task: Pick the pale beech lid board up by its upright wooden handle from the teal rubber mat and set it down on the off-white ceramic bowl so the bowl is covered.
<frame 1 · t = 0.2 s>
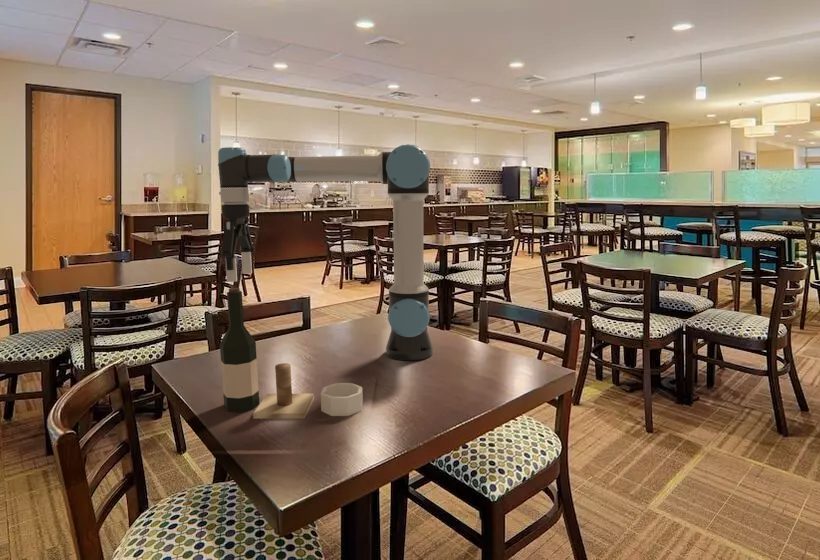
hand: (240, 277, 156), 28 cm above the table, fingers open, 13 cm apart
mat: (285, 410, 131), on the table
beech lid: (285, 407, 131), point 1 cm above the table, touching mat
wine bottle: (242, 408, 133), on the table
bowl: (342, 409, 131), on the table
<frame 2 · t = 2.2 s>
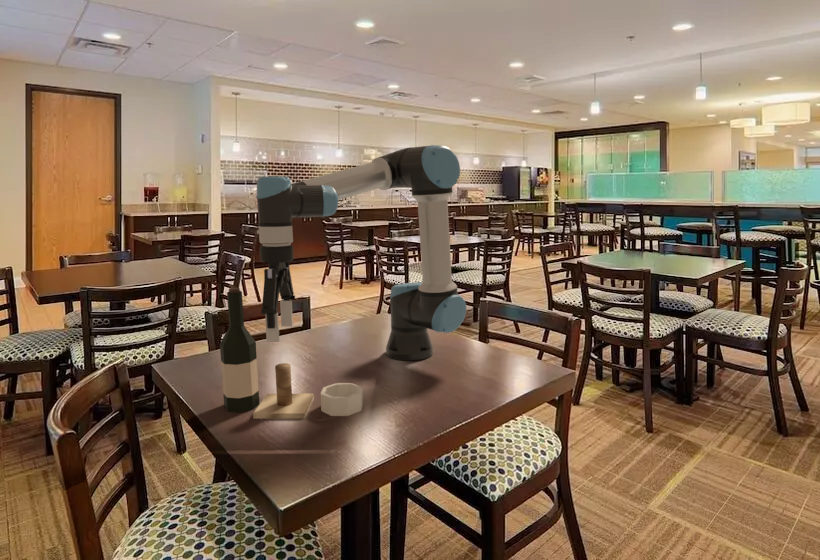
hand: (280, 333, 127), 19 cm above the table, fingers open, 13 cm apart
nothing on the table moved.
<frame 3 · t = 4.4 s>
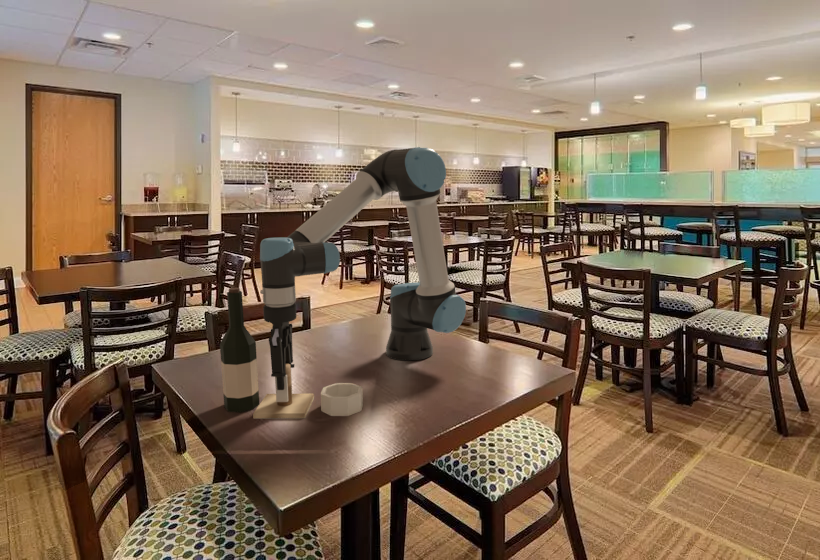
hand: (284, 397, 130), 3 cm above the table, fingers closed on beech lid, 4 cm apart
beech lid: (285, 407, 131), point 1 cm above the table, touching gripper, mat
everything else where it was.
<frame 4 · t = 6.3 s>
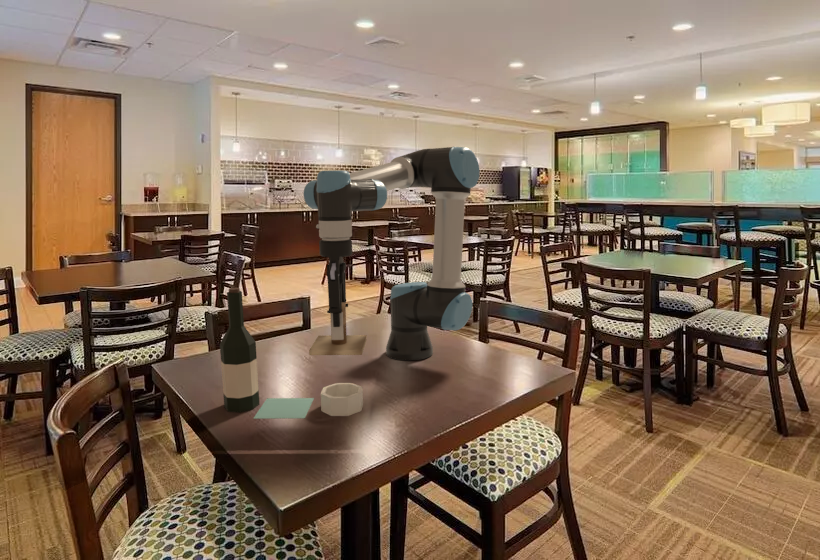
hand: (339, 336, 128), 18 cm above the table, fingers closed on beech lid, 4 cm apart
beech lid: (339, 347, 128), point 16 cm above the table, touching gripper
everything else where it was.
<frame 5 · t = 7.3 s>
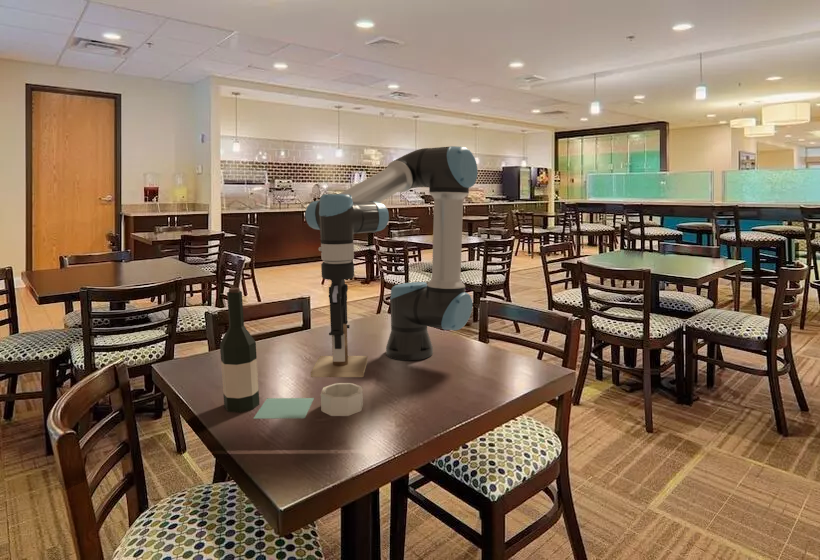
hand: (340, 358, 128), 13 cm above the table, fingers closed on beech lid, 4 cm apart
beech lid: (340, 368, 129), point 11 cm above the table, touching gripper
everything else where it was.
when the fingers open (9 cm above the table, at t = 8.2 s): beech lid drops 1 cm, resting on bowl.
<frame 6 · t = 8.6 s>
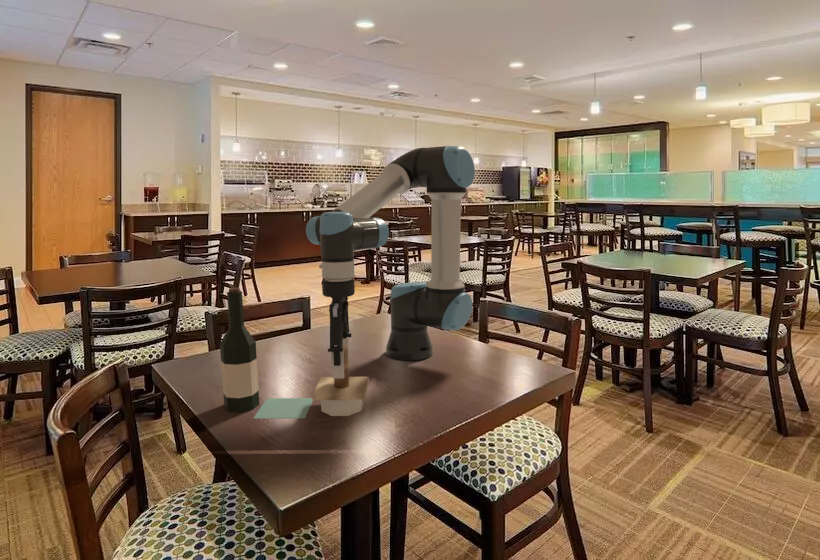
hand: (341, 370, 129), 10 cm above the table, fingers open, 9 cm apart
beech lid: (341, 390, 130), point 5 cm above the table, touching bowl
everything else where it was.
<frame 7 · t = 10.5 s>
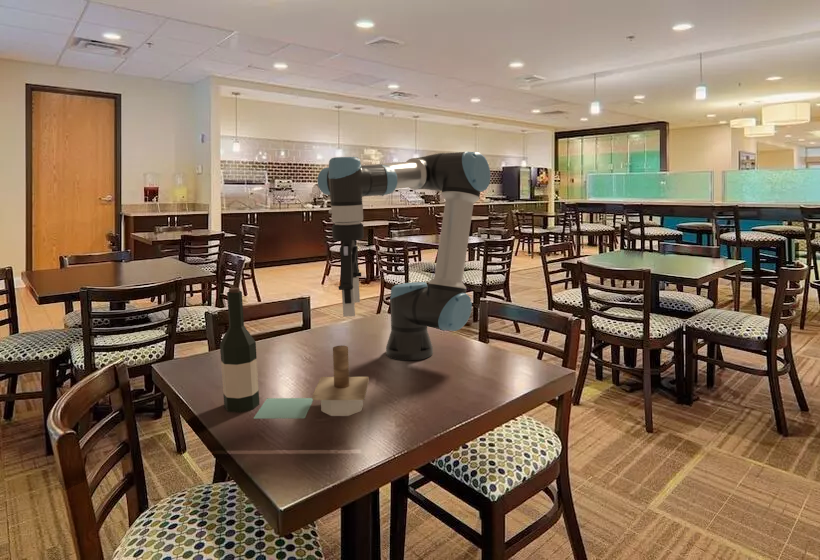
hand: (352, 309, 133), 24 cm above the table, fingers open, 13 cm apart
nothing on the table moved.
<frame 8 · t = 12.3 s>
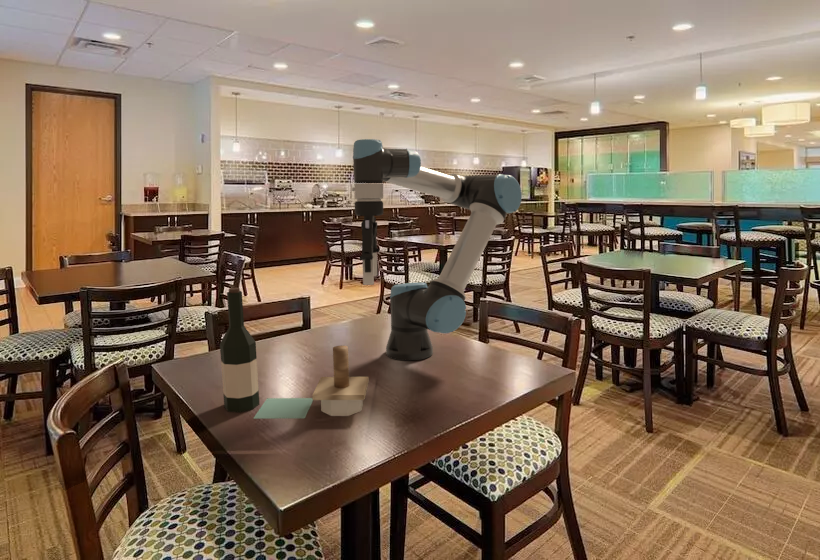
hand: (370, 280, 144), 29 cm above the table, fingers open, 13 cm apart
nothing on the table moved.
at the end: beech lid 0.0 cm off-centre on the bowl, point 5.0 cm above the bowl's base; beech lid tilted 0°; the gripper is holding nothing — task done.
